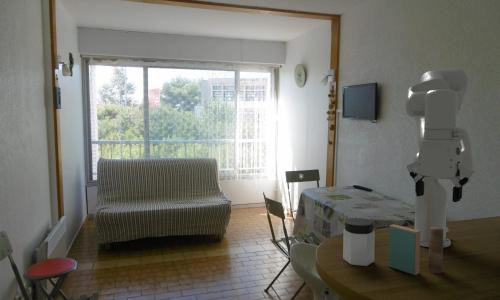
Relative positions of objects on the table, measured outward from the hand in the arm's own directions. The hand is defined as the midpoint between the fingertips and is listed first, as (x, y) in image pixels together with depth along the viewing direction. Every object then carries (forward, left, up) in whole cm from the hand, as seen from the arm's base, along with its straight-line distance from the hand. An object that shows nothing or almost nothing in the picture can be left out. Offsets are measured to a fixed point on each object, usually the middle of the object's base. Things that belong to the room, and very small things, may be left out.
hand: (437, 198), depth 98 cm
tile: (+6, -6, -21) cm, 22 cm away
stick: (0, 0, -21) cm, 21 cm away
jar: (+10, -18, -21) cm, 29 cm away
